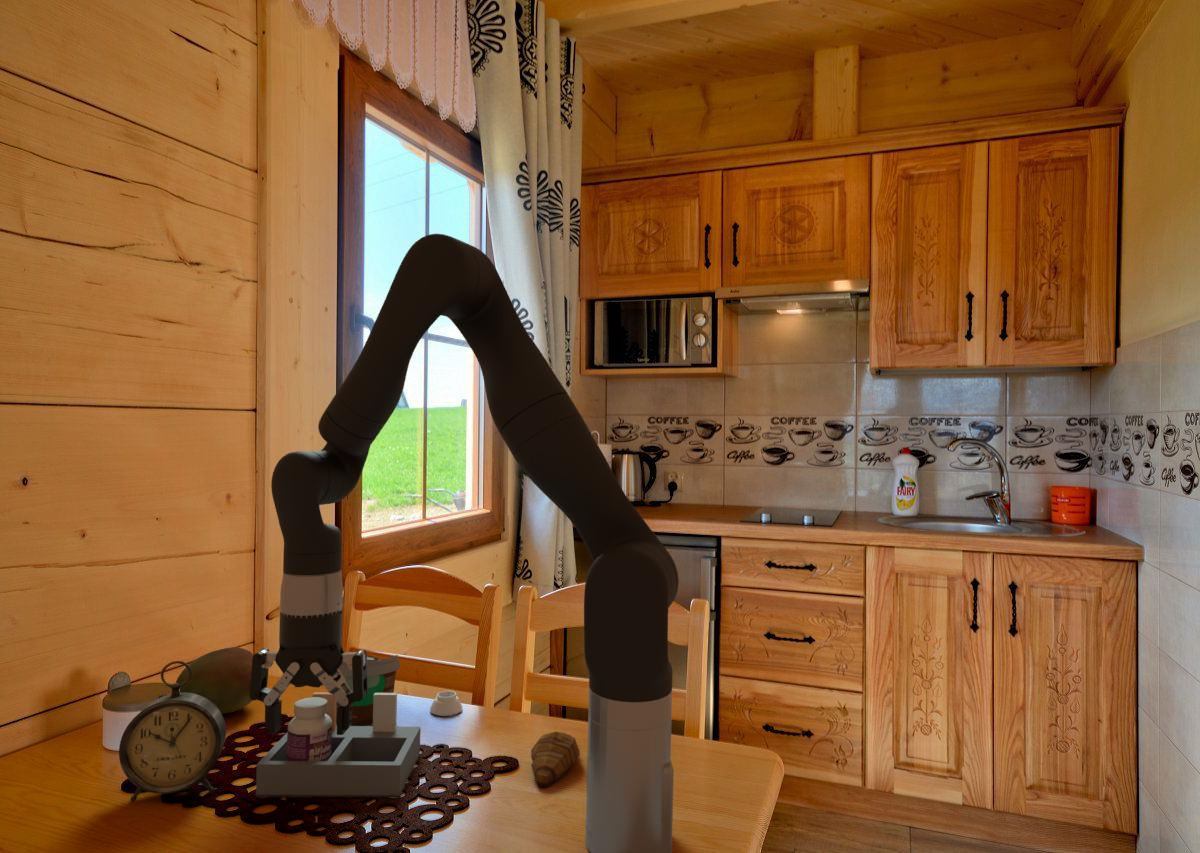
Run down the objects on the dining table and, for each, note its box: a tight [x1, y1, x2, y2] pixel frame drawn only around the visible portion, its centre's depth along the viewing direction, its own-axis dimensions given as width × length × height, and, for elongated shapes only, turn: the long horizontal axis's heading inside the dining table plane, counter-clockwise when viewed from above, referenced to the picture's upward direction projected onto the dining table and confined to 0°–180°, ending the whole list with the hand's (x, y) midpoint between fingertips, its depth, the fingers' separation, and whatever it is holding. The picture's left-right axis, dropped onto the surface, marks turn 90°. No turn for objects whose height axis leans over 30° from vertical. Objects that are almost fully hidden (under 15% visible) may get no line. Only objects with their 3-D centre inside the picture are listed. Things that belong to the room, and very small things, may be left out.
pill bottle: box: [287, 696, 332, 761], centre depth 96 cm, size 5×5×10 cm
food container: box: [336, 654, 401, 726], centre depth 116 cm, size 12×6×10 cm, turn 73°
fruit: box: [175, 646, 254, 715], centre depth 118 cm, size 12×12×10 cm
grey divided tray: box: [255, 691, 421, 799], centre depth 98 cm, size 17×12×9 cm
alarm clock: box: [118, 660, 227, 802], centre depth 92 cm, size 11×5×16 cm, turn 105°
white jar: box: [429, 690, 463, 717], centre depth 121 cm, size 5×3×5 cm
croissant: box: [530, 731, 581, 788], centre depth 102 cm, size 14×7×5 cm, turn 170°
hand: (308, 732), depth 96 cm, fingers open, 8 cm apart
